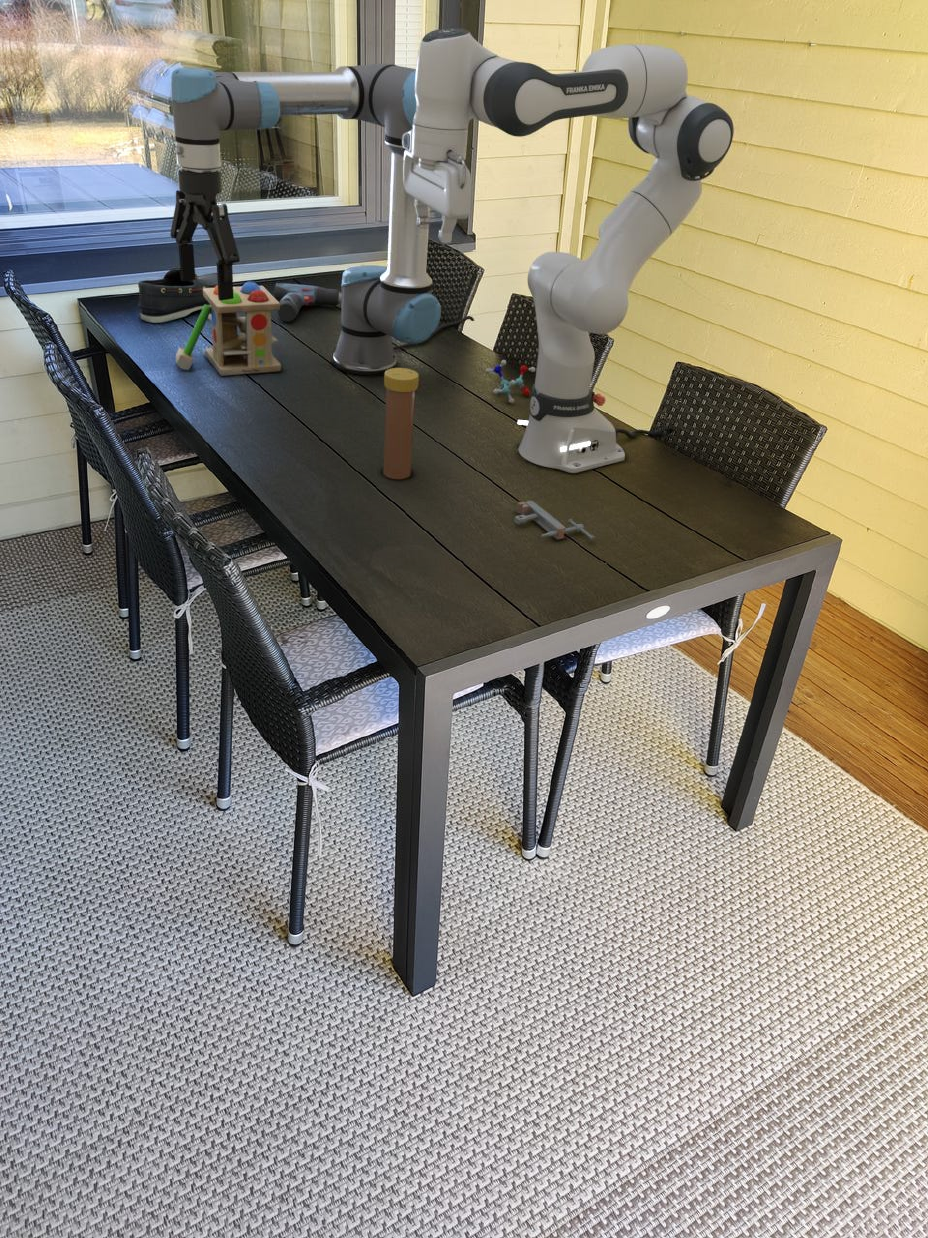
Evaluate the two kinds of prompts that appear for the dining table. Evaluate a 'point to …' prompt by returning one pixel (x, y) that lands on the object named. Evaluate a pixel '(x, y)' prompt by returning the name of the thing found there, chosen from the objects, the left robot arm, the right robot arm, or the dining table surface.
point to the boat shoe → (173, 296)
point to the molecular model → (505, 383)
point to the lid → (401, 379)
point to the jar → (398, 434)
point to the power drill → (302, 298)
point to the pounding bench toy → (229, 347)
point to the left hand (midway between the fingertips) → (206, 289)
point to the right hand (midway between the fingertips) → (433, 234)
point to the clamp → (546, 521)
